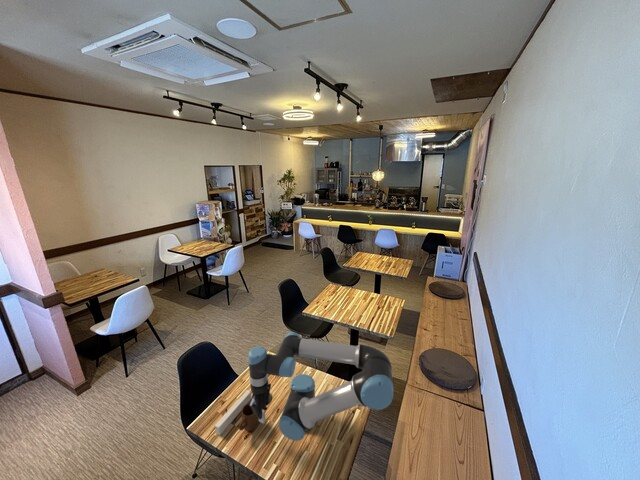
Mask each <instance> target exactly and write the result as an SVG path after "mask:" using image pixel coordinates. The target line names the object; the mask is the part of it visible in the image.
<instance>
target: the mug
mask: <svg viewBox="0 0 640 480" xmlns="http://www.w3.org/2000/svg"><path fill="white" fill-rule="evenodd" d="M248 404H249V402H248V403H247V404H246V405H245V406H244V407H243V409H242V410H241V417H242V418H241V420H240V422H239V423H238V429H239V431H243V430H245V431H253V430H254V429H255V430H256V428H257V427H258V425H259V423H260V422H259V418H258V416H256V415H254V413H253V411H252V409H251V406H250V405H248Z"/></svg>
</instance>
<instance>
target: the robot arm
mask: <svg viewBox="0 0 640 480" xmlns="http://www.w3.org/2000/svg"><path fill="white" fill-rule="evenodd" d="M295 356H297V357H303V358H305V357H306V358H310V359H317V360H323V361H329V362H335V363H342V364H349V365H354V366H355V367H356V368H357V369H361V371H360V372H358V373H355V374H353V376H352V378H351V380H350V381H348V382H346V383H343V384H341V385H339V386H337V387H334V388H331V389H330V390H327V391H325V392H322V393H321V394H319V395H315V394H316V383H315V382H316V381H315V379H314V378H313V377H312V376H311V375H309V374H305V373H304V374H303V373H302V374H301V373H300V374H298V375H295V376H294V373H295V370H296V358H295ZM247 362H248V363H247V364H248V368H249V382H250V384H249V385H250V392H251V400H250V401H249V402H248V403H249V404H248V403H247V404H248V405H250V406H251V409H252V411H253V413H254V415H256V416H258V418H259V423H261V424H265V423H266V419H267V418H266V411H267V410H268V407H267V406H268V405H269V404H270V402H269V393H270V394H271V387H272V383H270V382H269V375H271V376H276V377H280V378H292V377H293V376H294V377H293V378H292V379H291V381H290V384H289V385H290V392H289V394H288V397H287V399H286V402H285V405H284V406H283V407H284V408H283V410H282V413H281V415H280V418H279V423H278V429H279V430H280V433H281V434H282V435H283V436H284V437H285V438H287V439H289V440H291V441H297V442H299V441H301V440H303V439H304V437H305V436H306V432H307V431H310V430H312V429H313V428H315V426H317V423H318V422H319V421H322V420H324V419H327V418H329V417H333V416H334V415H337V414H339V413H342V412H345V411H346V410H347V411H348V410H349V409H353V408H354V407H356V406H359V405H361V406H362V407H363V408H368V409H370V410H376V411H380V410H381V411H382V410H384V409H386V408H387V407H389V405H390V404H391V403H392V401H393V399H394V383H393V372H392V363H391V361H390V359H389V357H388V356H387V355H386V354H385V353H384V352H383V351H381V350H380V349H378V348H376V347H374V346H371V345H366V344H363V343H362V344H360V343H359V344H358V345H352V344H344V343H337V342H330V341H325V340H316V339H309V338H303V337H300V335H299V334H298V333H297V332H295V331H292V332H291V331H290V332H288V333H286V335H285V336H284V338H283V339H282V342H281V344H280V346H279V348H278V351H277V352H276V354H273V353H268V352H267V349H266V348H265V347H264V346H262V345H261V346H260V345H258V346H254V347H253V348H251V349H250V350H249V351H248V360H247ZM255 401H256V403H255Z"/></svg>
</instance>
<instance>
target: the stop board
mask: <svg viewBox="0 0 640 480" xmlns="http://www.w3.org/2000/svg"><path fill="white" fill-rule="evenodd" d="M251 401H252V391H251V390H248V389H246V390H245V392H243V394H242V395H241V396H240V397H239V398H238V399H237V400H236V402H235V403H234V404H233V405H232V406H231V407H230V408H229V409H228V410H227V411H226V412H225V414H224V415H223V416H222V417H221V418H219V420H218V421H217V422H216V424H214V430H215V434H216V435H218V436H222V434H223V433H224V432H225V430H227V428H228V427H229V426H230V424H231V423H232V422H233V421H234V420H235V419H236V417H237V416H238V415H239V414H240V413H242V409H243V407H244V406H245V405H246V404H248V403H249V402H251Z"/></svg>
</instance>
